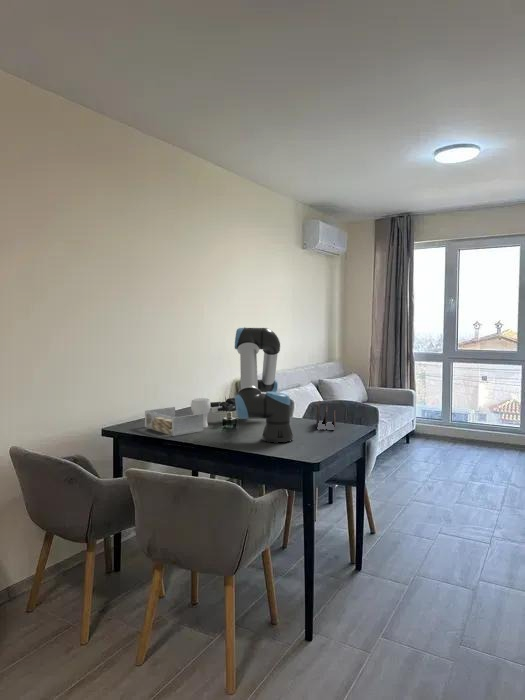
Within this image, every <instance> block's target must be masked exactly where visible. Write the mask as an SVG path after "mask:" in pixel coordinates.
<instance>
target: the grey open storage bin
mask: <svg viewBox="0 0 525 700" xmlns="http://www.w3.org/2000/svg"><path fill="white" fill-rule="evenodd" d="M154 417H162V418H166V419H169V420H172V434H170V433H166V432H163V431H160V430H157V429H153V428H152V421H154ZM144 428H146V429H150V430H153V431H156V432H160V433H163V434H165V435H169V436H173V437H176V436H181V435H187V434H193V433H200V432H204V427H203V414H195V415H194V414H190V415H189V414H188V415H183V416H176V407H175V406H172V407H163V408H155V409H149V410H148V409H147V410H144Z"/></svg>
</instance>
